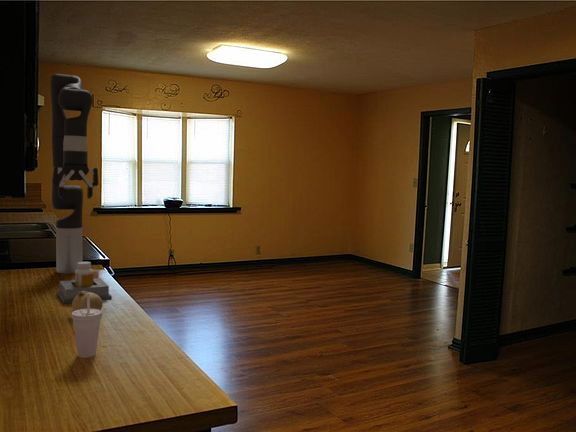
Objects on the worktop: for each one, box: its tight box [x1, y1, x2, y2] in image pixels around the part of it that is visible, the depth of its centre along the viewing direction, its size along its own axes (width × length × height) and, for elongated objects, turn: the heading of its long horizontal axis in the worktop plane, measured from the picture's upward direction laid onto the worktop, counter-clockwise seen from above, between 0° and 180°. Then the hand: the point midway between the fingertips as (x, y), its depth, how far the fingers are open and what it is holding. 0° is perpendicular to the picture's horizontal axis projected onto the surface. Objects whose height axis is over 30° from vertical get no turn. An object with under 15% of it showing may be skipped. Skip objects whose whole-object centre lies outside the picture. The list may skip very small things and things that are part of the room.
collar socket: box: [56, 277, 113, 305], centre depth 167 cm, size 14×14×4 cm
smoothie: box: [71, 293, 103, 359], centre depth 116 cm, size 6×6×14 cm
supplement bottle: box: [74, 261, 93, 287], centre depth 167 cm, size 5×5×10 cm
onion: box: [71, 291, 104, 312], centre depth 146 cm, size 8×8×7 cm
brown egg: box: [91, 268, 100, 279], centre depth 182 cm, size 7×7×5 cm
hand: (75, 198), depth 177 cm, fingers open, 8 cm apart
